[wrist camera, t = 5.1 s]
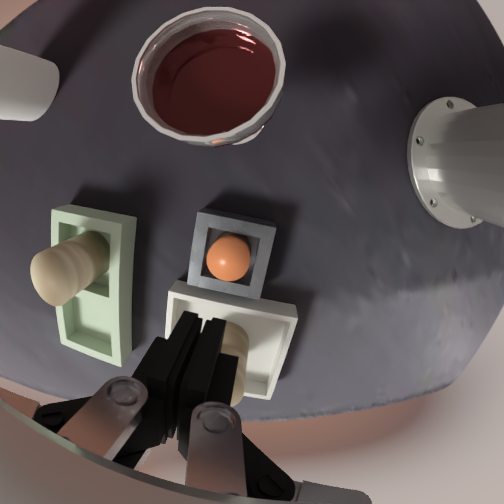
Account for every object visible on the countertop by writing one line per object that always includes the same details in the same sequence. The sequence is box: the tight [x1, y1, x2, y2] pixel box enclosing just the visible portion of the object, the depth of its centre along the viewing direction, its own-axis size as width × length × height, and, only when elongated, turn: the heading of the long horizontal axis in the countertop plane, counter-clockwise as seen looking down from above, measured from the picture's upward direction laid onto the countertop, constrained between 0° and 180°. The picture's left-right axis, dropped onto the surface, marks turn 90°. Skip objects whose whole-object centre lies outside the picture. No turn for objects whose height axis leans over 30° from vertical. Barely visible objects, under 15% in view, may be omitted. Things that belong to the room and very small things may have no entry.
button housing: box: [187, 207, 276, 300], centre depth 23 cm, size 6×6×2 cm
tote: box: [165, 280, 298, 400], centre depth 26 cm, size 11×10×2 cm
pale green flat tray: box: [51, 204, 137, 367], centre depth 25 cm, size 8×15×3 cm, turn 168°
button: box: [207, 232, 251, 281], centre depth 23 cm, size 3×3×3 cm
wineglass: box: [131, 7, 286, 147], centre depth 16 cm, size 7×7×12 cm
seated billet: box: [31, 231, 110, 306], centre depth 21 cm, size 4×4×7 cm
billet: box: [221, 322, 249, 407], centre depth 23 cm, size 4×4×7 cm
